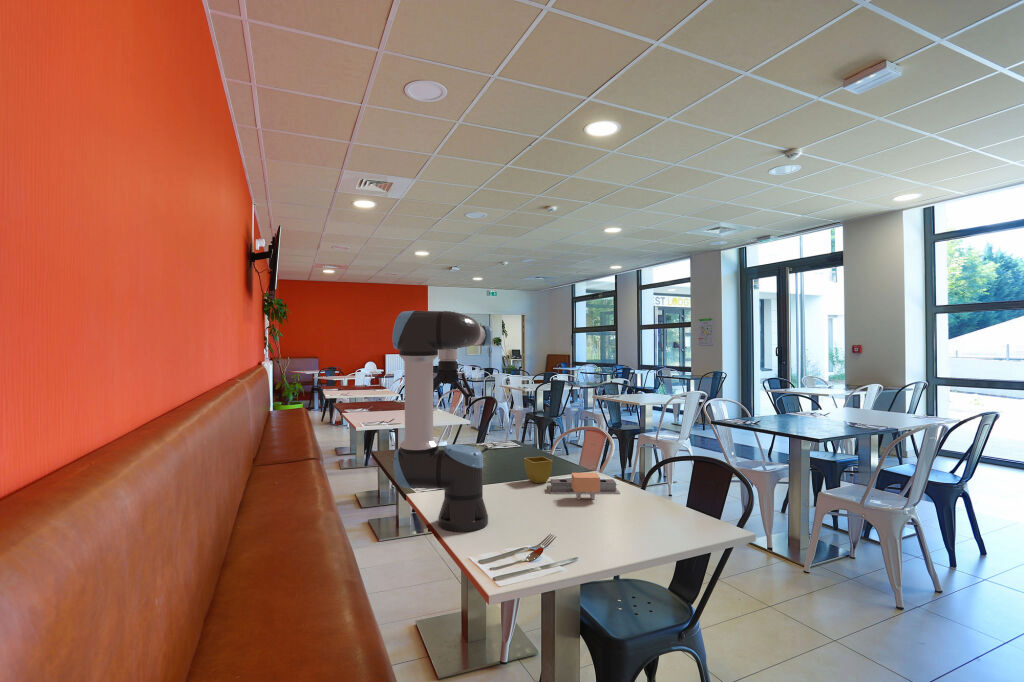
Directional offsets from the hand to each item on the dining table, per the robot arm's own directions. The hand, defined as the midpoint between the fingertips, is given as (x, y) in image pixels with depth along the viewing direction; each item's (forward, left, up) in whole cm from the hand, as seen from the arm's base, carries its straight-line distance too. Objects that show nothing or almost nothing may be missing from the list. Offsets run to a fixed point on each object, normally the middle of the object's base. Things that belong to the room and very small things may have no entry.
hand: (447, 414), depth 205 cm
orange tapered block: (-22, -51, -27) cm, 62 cm away
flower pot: (+1, -36, -27) cm, 45 cm away
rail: (-11, -52, -27) cm, 60 cm away
